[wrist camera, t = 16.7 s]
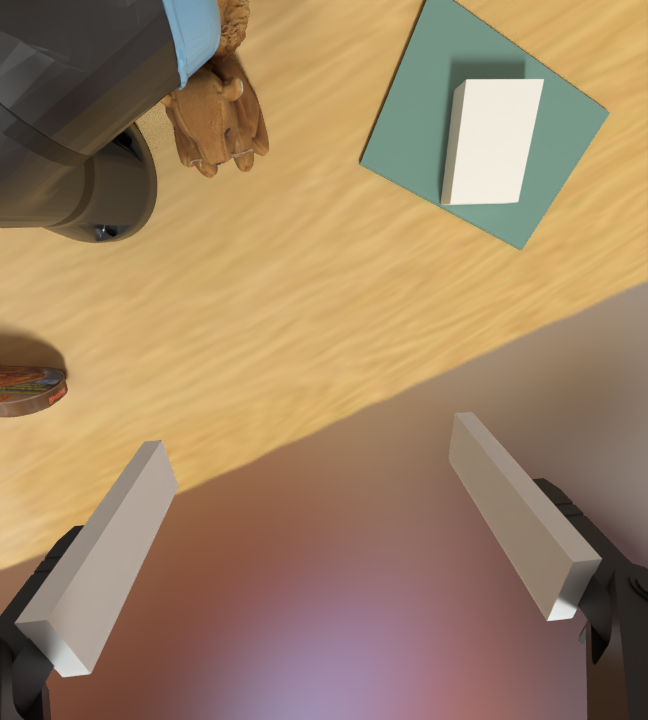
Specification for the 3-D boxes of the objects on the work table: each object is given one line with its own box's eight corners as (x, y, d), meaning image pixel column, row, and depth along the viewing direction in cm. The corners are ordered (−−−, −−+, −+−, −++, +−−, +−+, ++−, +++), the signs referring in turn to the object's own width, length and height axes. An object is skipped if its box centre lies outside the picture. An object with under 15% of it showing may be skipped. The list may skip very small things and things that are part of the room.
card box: (450, 203, 35) (466, 79, 30) (439, 205, 37) (452, 91, 33) (518, 202, 35) (544, 79, 31) (502, 203, 38) (524, 90, 33)
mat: (359, 164, 36) (360, 163, 35) (430, -11, 30) (432, -15, 29) (519, 249, 41) (521, 249, 40) (606, 114, 35) (609, 112, 35)
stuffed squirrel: (184, 172, 35) (142, 187, 25) (142, -14, 27) (52, -111, 16) (271, 171, 36) (266, 186, 26) (256, -8, 28) (240, -96, 17)
